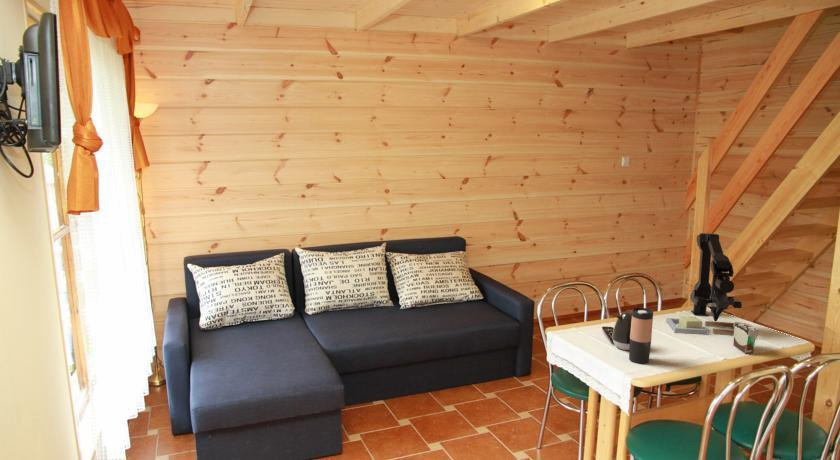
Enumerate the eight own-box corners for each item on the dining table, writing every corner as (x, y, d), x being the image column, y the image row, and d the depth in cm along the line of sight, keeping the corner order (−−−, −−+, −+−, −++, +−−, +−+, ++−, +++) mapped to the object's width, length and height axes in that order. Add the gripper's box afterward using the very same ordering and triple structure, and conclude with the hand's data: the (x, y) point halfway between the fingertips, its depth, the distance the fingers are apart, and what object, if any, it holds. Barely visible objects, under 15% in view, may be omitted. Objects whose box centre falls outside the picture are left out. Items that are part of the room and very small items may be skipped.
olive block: (678, 327, 267) (679, 316, 266) (693, 327, 267) (694, 316, 266) (685, 332, 260) (686, 321, 259) (701, 332, 260) (702, 321, 259)
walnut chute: (704, 325, 269) (705, 321, 269) (742, 327, 267) (742, 323, 266) (713, 334, 257) (713, 329, 257) (752, 336, 255) (753, 332, 255)
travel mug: (644, 356, 230) (648, 307, 227) (652, 364, 223) (657, 313, 219) (625, 356, 230) (629, 307, 227) (632, 364, 222) (636, 313, 219)
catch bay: (666, 321, 273) (666, 317, 273) (696, 323, 271) (697, 319, 271) (674, 332, 258) (675, 328, 258) (707, 334, 256) (707, 330, 256)
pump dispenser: (605, 345, 242) (608, 309, 240) (626, 342, 246) (629, 307, 243) (622, 353, 233) (625, 316, 230) (643, 350, 236) (646, 314, 234)
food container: (762, 356, 233) (765, 331, 231) (746, 355, 233) (749, 331, 231) (746, 344, 245) (748, 321, 243) (731, 344, 245) (733, 321, 243)
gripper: (702, 290, 253) (698, 325, 256) (748, 293, 250) (744, 328, 253) (694, 284, 264) (691, 317, 267) (738, 286, 261) (735, 320, 264)
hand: (715, 320), depth 262 cm, fingers closed
